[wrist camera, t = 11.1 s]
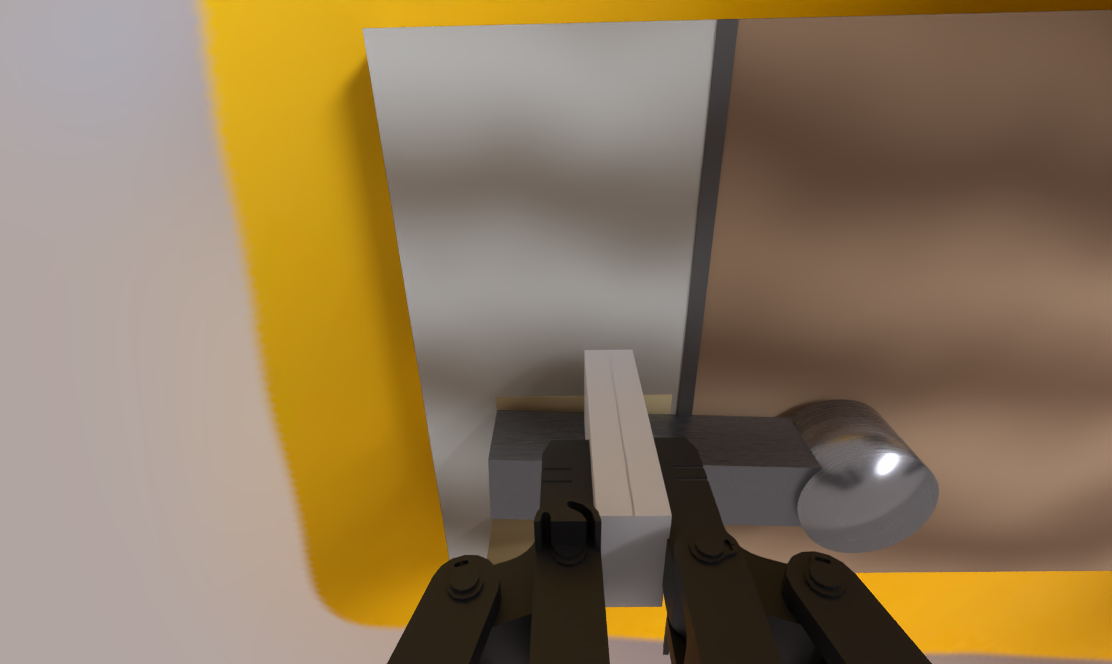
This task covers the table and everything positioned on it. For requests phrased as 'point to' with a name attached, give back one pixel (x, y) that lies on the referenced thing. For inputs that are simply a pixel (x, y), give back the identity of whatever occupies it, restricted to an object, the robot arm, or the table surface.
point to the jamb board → (774, 249)
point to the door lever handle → (757, 470)
